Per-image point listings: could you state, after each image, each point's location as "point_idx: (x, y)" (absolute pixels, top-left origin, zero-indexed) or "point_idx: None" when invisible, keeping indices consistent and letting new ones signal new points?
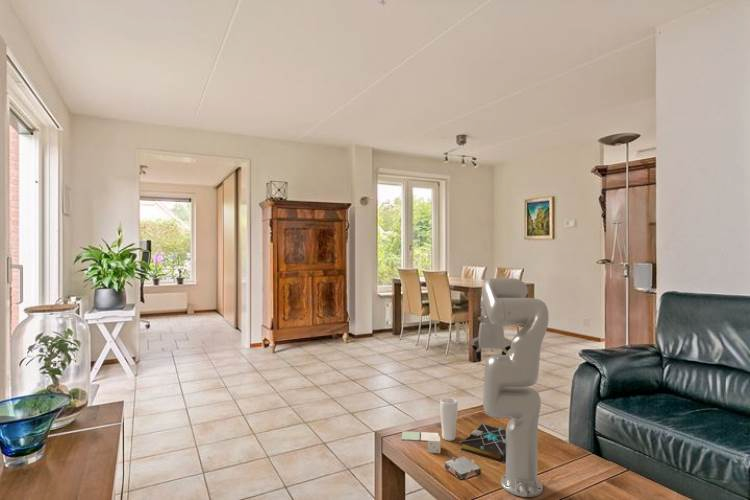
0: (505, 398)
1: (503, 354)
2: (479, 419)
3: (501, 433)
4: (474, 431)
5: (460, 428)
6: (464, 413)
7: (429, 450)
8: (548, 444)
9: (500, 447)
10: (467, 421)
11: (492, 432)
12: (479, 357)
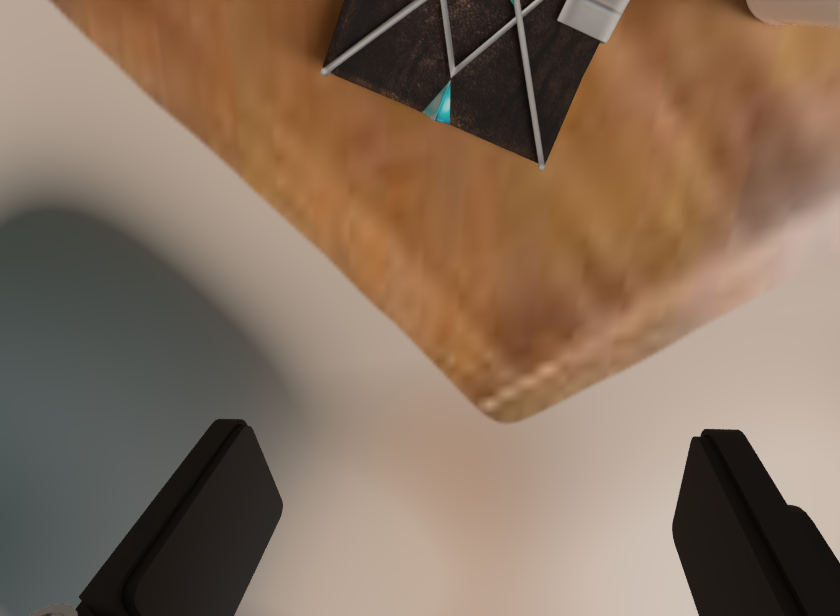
0: None
1: (133, 562)
2: (539, 292)
3: (438, 42)
4: (617, 3)
5: (669, 156)
6: (609, 349)
7: None
8: (209, 53)
9: None
10: (609, 258)
11: (493, 34)
12: (773, 512)
